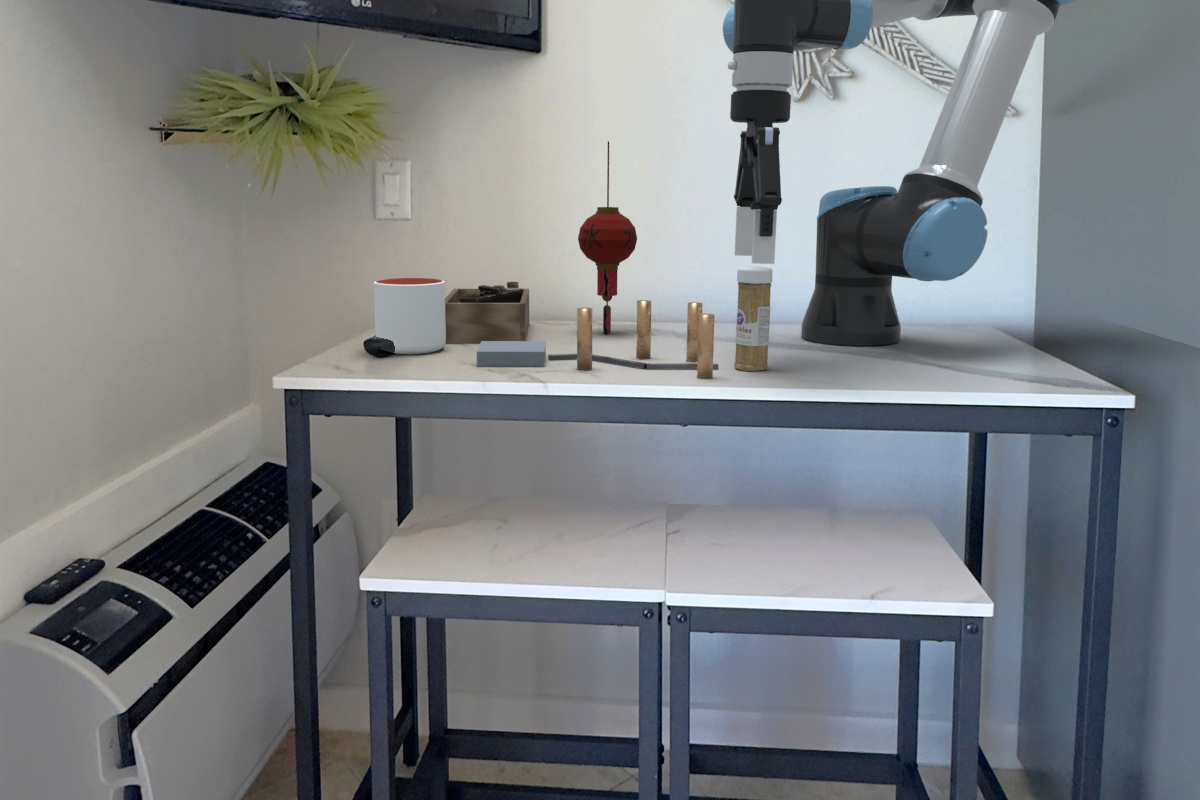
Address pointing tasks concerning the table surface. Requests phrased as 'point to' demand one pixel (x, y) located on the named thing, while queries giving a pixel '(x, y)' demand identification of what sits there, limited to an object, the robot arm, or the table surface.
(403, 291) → the cup
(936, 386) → the table surface
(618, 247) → the lantern
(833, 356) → the table surface
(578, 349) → the wire course
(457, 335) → the camera corral
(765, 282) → the sprinkles bottle
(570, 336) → the table surface
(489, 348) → the pad
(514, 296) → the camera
